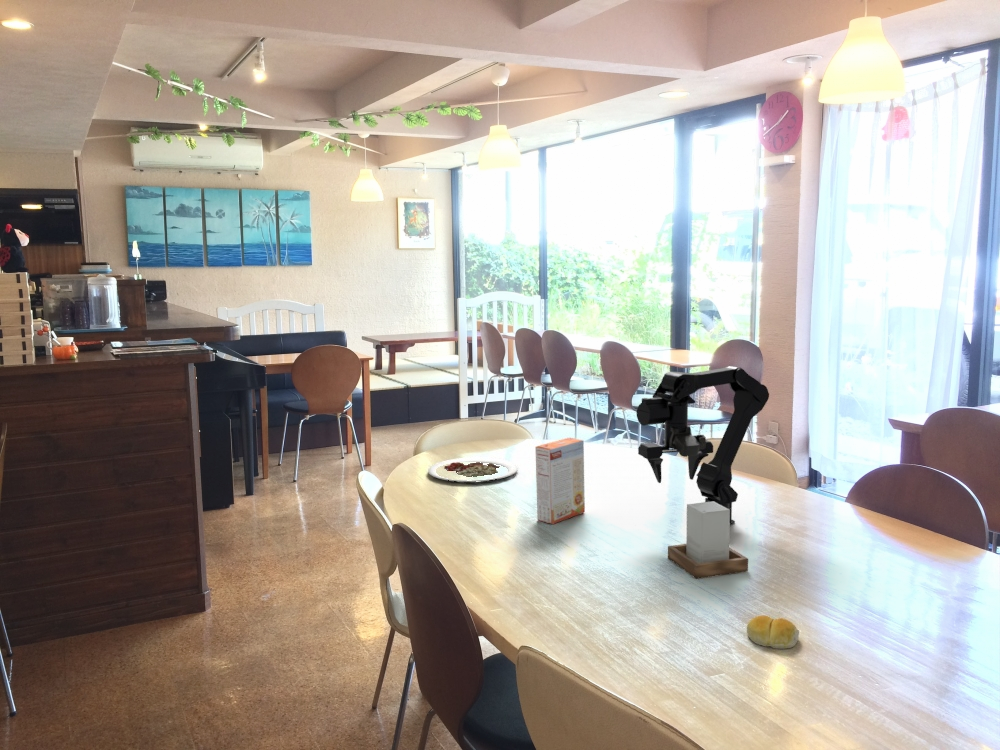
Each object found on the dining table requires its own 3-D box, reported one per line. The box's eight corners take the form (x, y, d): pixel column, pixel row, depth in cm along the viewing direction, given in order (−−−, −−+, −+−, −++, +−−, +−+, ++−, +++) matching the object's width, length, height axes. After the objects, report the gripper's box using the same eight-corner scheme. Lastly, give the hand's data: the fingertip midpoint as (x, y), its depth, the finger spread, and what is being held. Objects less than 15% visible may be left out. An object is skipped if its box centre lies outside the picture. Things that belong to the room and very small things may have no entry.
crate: (716, 551, 192) (716, 539, 191) (747, 571, 180) (748, 558, 179) (667, 558, 188) (667, 546, 188) (696, 578, 176) (696, 565, 176)
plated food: (518, 485, 253) (518, 475, 252) (423, 487, 253) (423, 476, 253) (517, 461, 282) (517, 452, 282) (432, 463, 283) (432, 453, 282)
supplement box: (730, 563, 182) (731, 509, 181) (700, 566, 181) (701, 512, 179) (713, 552, 190) (714, 500, 188) (685, 555, 188) (685, 503, 186)
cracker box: (569, 508, 227) (568, 436, 224) (585, 513, 223) (585, 439, 220) (535, 520, 218) (534, 445, 215) (552, 525, 213) (551, 448, 210)
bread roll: (752, 625, 154) (753, 605, 153) (801, 636, 149) (802, 615, 148) (740, 643, 147) (741, 622, 146) (791, 655, 142) (791, 633, 142)
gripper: (658, 430, 194) (657, 493, 196) (725, 424, 199) (724, 485, 201) (637, 422, 204) (637, 481, 207) (702, 416, 210) (701, 474, 212)
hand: (675, 481), depth 206 cm, fingers open, 9 cm apart
